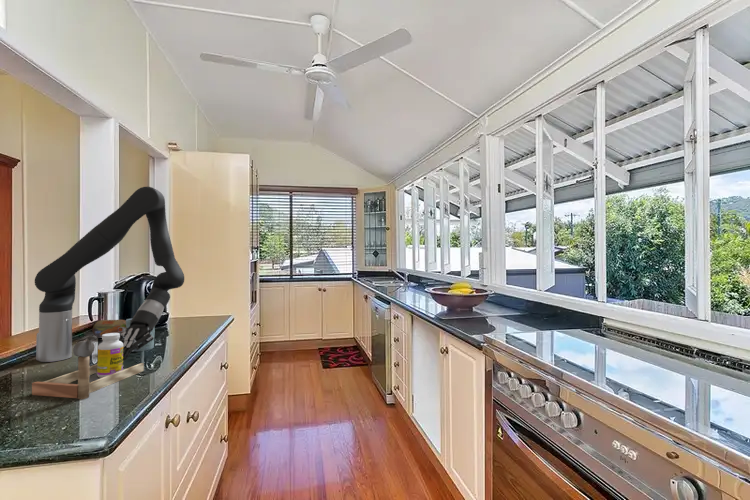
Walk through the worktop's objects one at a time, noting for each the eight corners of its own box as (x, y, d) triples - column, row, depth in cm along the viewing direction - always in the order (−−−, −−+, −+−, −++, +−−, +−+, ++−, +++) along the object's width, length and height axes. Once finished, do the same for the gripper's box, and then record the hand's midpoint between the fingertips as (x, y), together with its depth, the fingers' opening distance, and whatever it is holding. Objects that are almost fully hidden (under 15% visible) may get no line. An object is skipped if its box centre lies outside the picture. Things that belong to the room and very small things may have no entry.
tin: (91, 339, 170) (92, 320, 170) (97, 337, 173) (97, 318, 173) (126, 339, 170) (126, 320, 170) (130, 337, 173) (131, 319, 173)
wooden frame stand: (105, 368, 128) (106, 318, 128) (156, 371, 125) (156, 320, 125) (26, 396, 103) (27, 334, 103) (87, 401, 100) (88, 337, 100)
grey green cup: (156, 349, 152) (156, 319, 152) (125, 353, 147) (126, 321, 147) (153, 344, 161) (154, 315, 161) (125, 347, 155) (125, 318, 155)
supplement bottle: (109, 379, 117) (109, 337, 117) (91, 377, 118) (92, 335, 118) (128, 372, 123) (128, 332, 123) (111, 371, 125) (111, 331, 125)
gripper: (125, 308, 135) (95, 353, 123) (159, 309, 133) (132, 354, 121) (136, 321, 140) (109, 364, 128) (170, 322, 139) (145, 366, 126)
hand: (120, 359), depth 125 cm, fingers closed
